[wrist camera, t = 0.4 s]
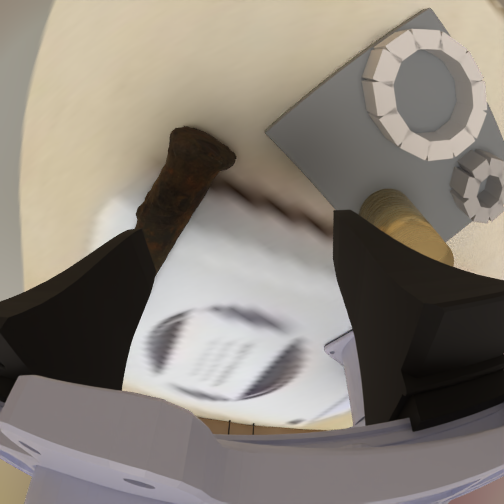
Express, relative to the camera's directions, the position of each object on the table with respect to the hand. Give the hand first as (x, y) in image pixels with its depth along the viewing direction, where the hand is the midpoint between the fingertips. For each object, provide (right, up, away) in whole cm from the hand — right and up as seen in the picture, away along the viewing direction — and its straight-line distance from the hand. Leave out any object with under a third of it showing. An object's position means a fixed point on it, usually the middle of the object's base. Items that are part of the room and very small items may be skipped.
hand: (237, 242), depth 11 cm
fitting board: (+12, +7, +7) cm, 15 cm away
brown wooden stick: (-6, +1, +12) cm, 14 cm away
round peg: (+10, +2, +8) cm, 13 cm away
